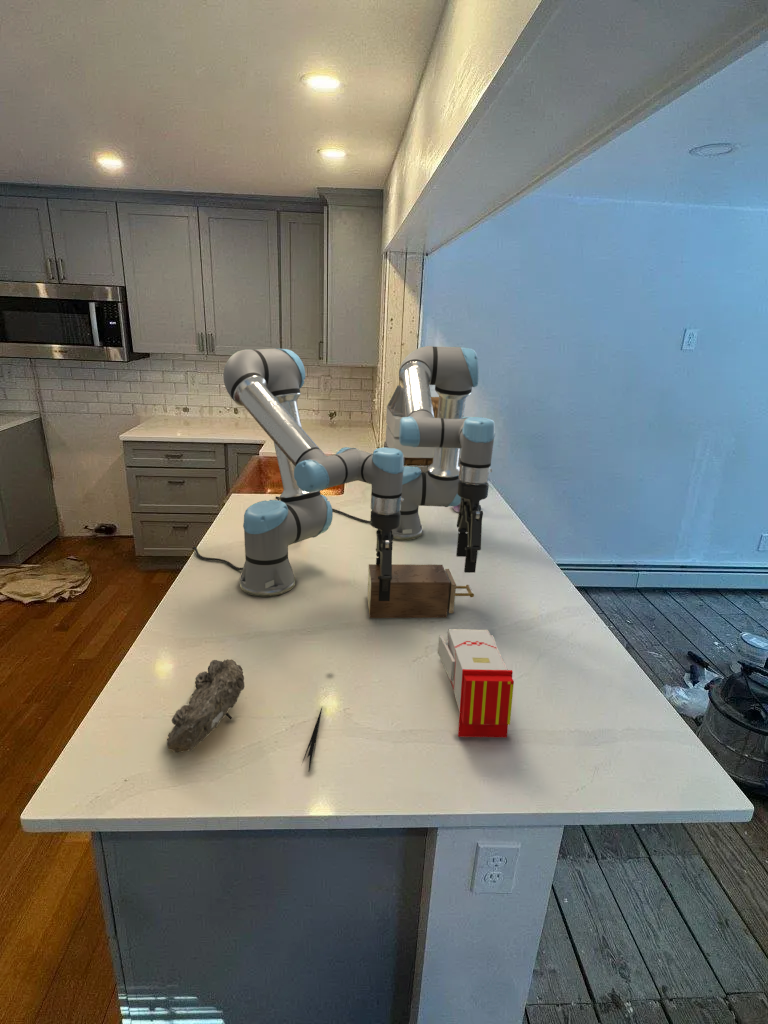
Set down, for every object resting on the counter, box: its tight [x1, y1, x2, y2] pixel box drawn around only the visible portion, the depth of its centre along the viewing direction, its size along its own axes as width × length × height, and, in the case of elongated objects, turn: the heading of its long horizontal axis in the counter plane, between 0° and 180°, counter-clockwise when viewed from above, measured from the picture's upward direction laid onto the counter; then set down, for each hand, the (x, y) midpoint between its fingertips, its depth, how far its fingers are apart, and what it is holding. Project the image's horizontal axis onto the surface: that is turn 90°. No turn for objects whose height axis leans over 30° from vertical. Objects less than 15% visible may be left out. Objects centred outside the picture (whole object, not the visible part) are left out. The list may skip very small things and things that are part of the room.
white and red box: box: [437, 628, 515, 738], centre depth 117 cm, size 12×13×30 cm
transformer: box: [383, 384, 461, 467], centre depth 268 cm, size 34×33×41 cm
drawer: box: [444, 568, 475, 614], centre depth 150 cm, size 24×9×8 cm, turn 95°
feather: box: [301, 673, 332, 771], centre depth 108 cm, size 2×28×2 cm
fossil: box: [166, 658, 245, 754], centre depth 106 cm, size 22×10×15 cm
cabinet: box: [366, 563, 450, 619], centre depth 149 cm, size 20×10×10 cm, turn 95°
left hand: (382, 590), depth 148 cm, fingers closed on cabinet, 10 cm apart
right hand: (465, 563), depth 148 cm, fingers open, 9 cm apart
